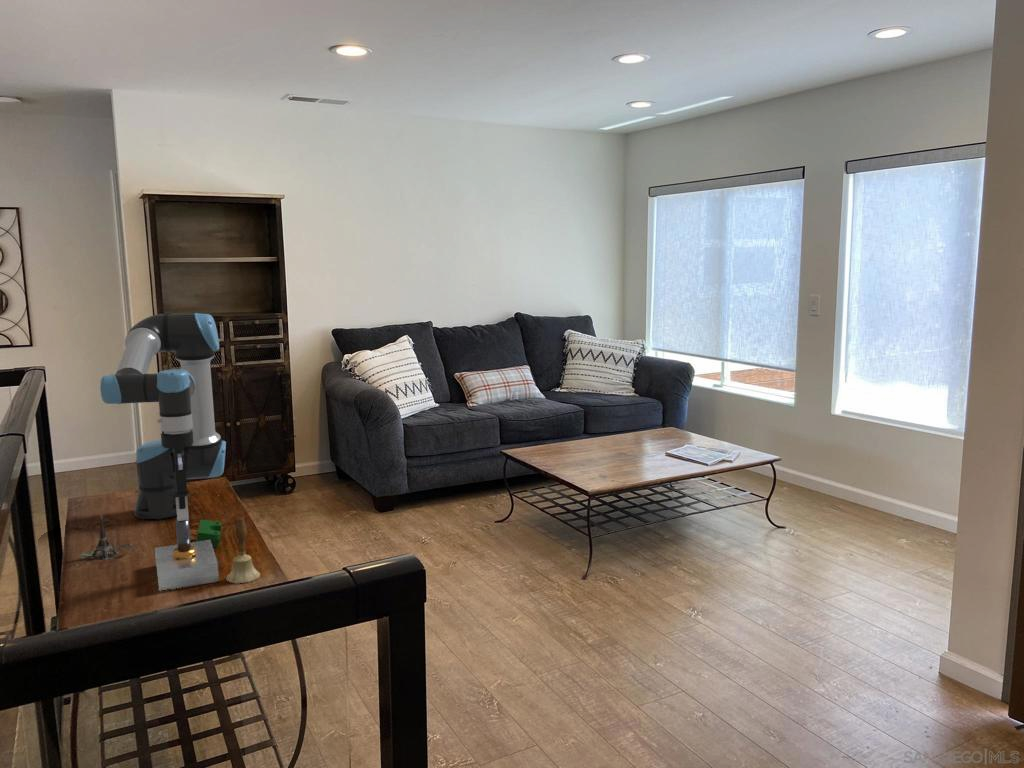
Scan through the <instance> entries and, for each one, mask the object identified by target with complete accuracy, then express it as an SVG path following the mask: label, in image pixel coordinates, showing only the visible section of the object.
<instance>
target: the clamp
mask: <svg viewBox="0 0 1024 768" xmlns="http://www.w3.org/2000/svg"><path fill="white" fill-rule="evenodd" d="M222 526H223V523H222V522H220V521H216V520H215V521H214V520H206V519H200V521H199V525H198V531H197V535H196V540H195V542H197V541H204V540H211V543H212V546H213V548H214V547H215V548H218V546H219V542H220V538H221V535H222Z"/></svg>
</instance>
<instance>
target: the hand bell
mask: <svg viewBox="0 0 1024 768" xmlns="http://www.w3.org/2000/svg"><path fill="white" fill-rule="evenodd" d="M235 535H236V538H237V541H238V553H237V556H235V557H234V558H233V559H232V568H231V571H230V573H228V574H227V577H226V581H227V582H228V581H229V582H228V583H230V582H231V584H235V585H237V584H240V583H242V584H248V583H251V581H252V582H254V581H256V580H259V578H260V577H261V573H260V572H259V571H258V570H257V569H256V568H255V566H254V564H253V561H252V557H251V555H249V554H246V544H245V543H246V542H245V541H246V538H247V525H246V522H245V520H244V517H239V518H238V519H237V522H236V527H235ZM247 582H248V583H247Z"/></svg>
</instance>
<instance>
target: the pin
mask: <svg viewBox="0 0 1024 768" xmlns="http://www.w3.org/2000/svg"><path fill="white" fill-rule="evenodd" d="M190 528H191V527H190V519H189V520H183V521H177V519H176V520H175V532H176V545H177V548H176V549H174V550H173V558H174V559H178V560H179V559H188V558H192V557H194V556H195V555H196V548H195V547H194V546H191V532H190Z"/></svg>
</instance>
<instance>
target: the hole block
mask: <svg viewBox="0 0 1024 768" xmlns="http://www.w3.org/2000/svg"><path fill="white" fill-rule="evenodd" d="M190 543H191V546H194V547H195V548H196V555H195V556H194V557H192V558H188V559H179V560H178V559H174V558H173V550H174V549H176V548H177V544H170V545H166V546H158V547H154V552H155V553H154V555H155V565H156V576H157V577H158V578H157V585H158V586H159V587H158V592H159V591H160V592H162V591H161V590H166V591H168V590H167V589H171V590H176V588H177V589H183V588H188V587H189V588H190V587H194V586H200V585H206V584H210V583H212V584H213V583H217V581H218V582H220V580H219V579H220V578H219V576H220V575H219V565H218V564H219V563H218V560H217V556H216V553H215V550H214V547H213V546H212V543H211V540H204V541H197V542H196V541H192V542H191V541H190ZM182 587H183V588H182Z"/></svg>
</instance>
